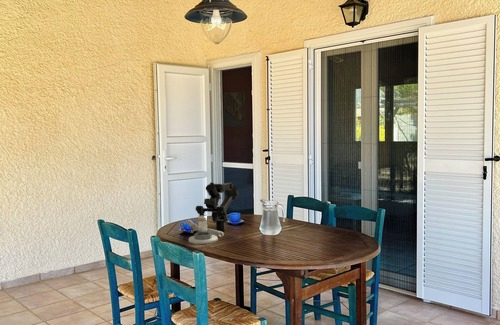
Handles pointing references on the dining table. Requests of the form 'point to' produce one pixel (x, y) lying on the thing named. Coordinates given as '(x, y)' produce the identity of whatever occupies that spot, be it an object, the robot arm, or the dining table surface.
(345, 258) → the dining table surface
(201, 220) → the piston
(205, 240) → the white and grey disc
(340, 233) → the dining table surface
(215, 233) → the wrench
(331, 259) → the dining table surface
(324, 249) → the dining table surface
